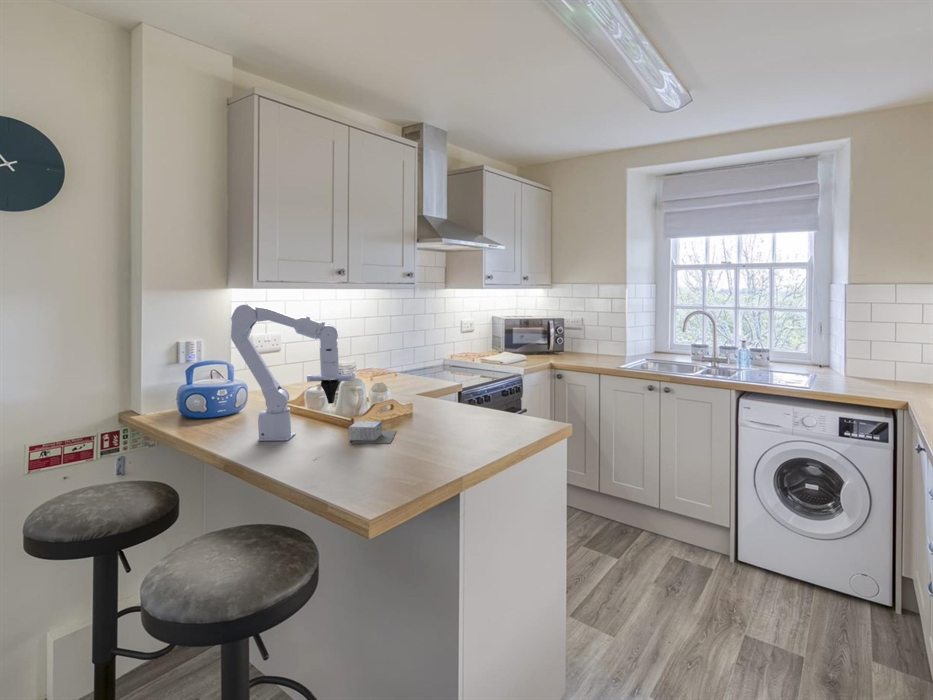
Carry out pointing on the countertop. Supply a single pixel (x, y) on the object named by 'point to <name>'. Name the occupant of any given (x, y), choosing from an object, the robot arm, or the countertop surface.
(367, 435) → the medicine box
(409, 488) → the countertop surface
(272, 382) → the robot arm
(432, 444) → the countertop surface
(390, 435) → the mat
